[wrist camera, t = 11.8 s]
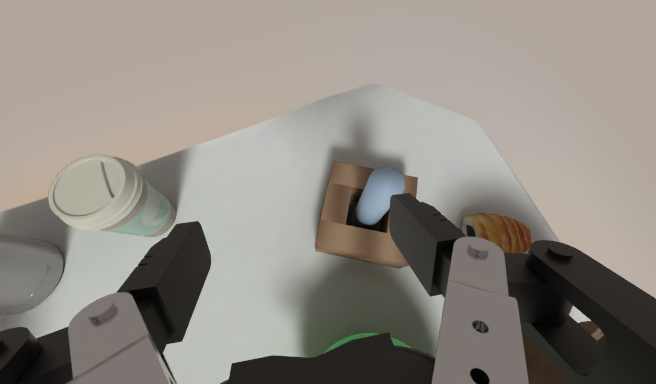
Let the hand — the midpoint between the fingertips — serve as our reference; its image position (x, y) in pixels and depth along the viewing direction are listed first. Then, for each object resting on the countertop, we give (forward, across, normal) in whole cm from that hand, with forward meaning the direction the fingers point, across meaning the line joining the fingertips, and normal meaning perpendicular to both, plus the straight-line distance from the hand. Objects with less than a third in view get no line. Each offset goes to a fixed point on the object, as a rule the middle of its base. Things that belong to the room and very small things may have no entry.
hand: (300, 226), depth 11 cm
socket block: (+23, -9, +14) cm, 29 cm away
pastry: (+19, -27, +18) cm, 38 cm away
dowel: (+23, -9, +15) cm, 28 cm away
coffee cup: (+27, +21, +12) cm, 36 cm away
